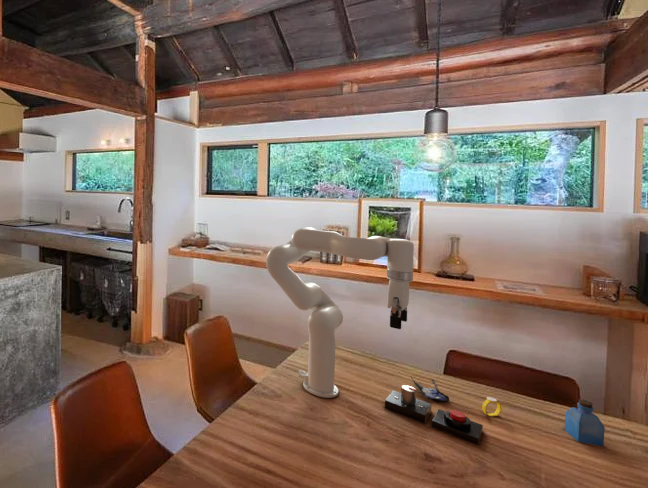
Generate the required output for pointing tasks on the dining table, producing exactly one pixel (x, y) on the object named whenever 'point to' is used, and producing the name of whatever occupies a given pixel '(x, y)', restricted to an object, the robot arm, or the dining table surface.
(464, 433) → the button block
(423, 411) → the control panel
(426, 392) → the snack package
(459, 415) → the button
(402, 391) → the heat knob
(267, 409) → the dining table surface
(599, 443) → the perfume bottle
